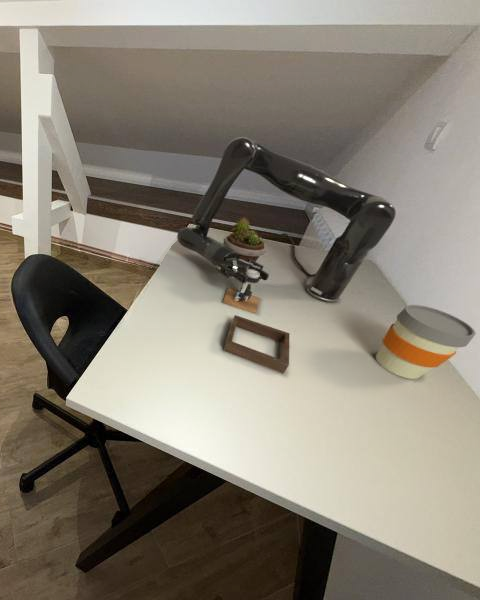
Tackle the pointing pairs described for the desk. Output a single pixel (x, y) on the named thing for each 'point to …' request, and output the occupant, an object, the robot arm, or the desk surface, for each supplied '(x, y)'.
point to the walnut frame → (255, 355)
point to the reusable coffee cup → (422, 341)
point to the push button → (248, 285)
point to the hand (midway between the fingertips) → (256, 279)
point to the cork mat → (246, 305)
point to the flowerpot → (245, 242)
